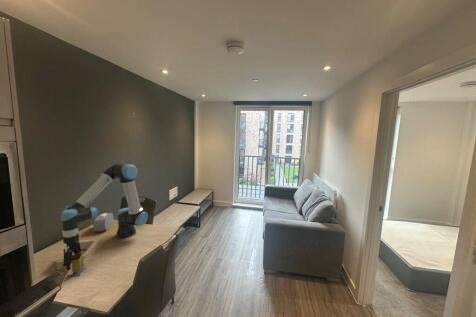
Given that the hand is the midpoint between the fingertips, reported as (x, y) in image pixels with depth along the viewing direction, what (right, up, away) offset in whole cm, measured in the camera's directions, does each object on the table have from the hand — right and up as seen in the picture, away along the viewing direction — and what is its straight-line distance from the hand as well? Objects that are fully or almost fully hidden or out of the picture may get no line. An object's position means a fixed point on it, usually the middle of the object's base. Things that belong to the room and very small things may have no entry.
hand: (73, 269), depth 126 cm
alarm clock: (-23, +3, +63) cm, 67 cm away
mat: (0, -2, 0) cm, 2 cm away
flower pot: (0, -2, 0) cm, 2 cm away
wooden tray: (-10, -1, +17) cm, 20 cm away
